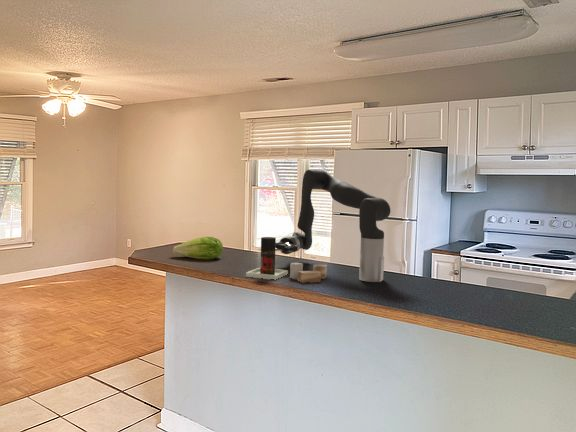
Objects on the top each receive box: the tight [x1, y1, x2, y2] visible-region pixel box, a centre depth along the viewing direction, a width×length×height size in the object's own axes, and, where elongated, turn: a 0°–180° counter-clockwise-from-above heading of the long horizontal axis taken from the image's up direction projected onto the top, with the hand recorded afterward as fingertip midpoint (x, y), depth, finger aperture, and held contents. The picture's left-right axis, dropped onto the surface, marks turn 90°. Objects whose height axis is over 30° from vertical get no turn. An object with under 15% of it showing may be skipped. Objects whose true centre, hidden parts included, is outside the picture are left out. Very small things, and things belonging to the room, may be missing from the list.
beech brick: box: [297, 270, 321, 284], centre depth 190 cm, size 4×8×4 cm, turn 115°
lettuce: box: [172, 236, 224, 260], centre depth 238 cm, size 12×24×13 cm
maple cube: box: [312, 263, 328, 280], centre depth 199 cm, size 5×5×5 cm
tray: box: [245, 267, 289, 281], centre depth 198 cm, size 13×13×2 cm
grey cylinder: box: [289, 262, 304, 280], centre depth 195 cm, size 5×5×6 cm
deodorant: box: [259, 236, 277, 275], centre depth 198 cm, size 6×6×15 cm
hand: (276, 249), depth 206 cm, fingers open, 8 cm apart
